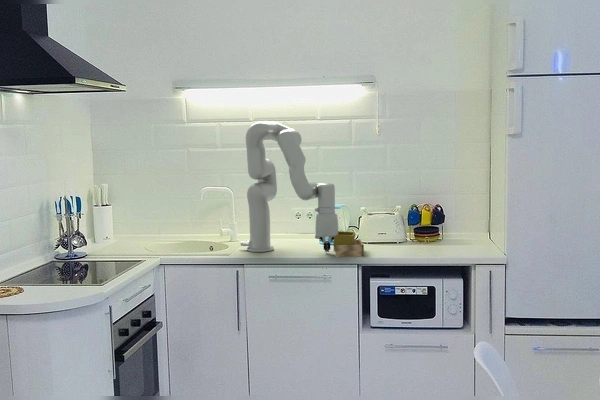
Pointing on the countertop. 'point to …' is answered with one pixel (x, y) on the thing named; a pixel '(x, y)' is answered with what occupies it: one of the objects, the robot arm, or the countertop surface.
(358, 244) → the frame
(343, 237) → the flower pot
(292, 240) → the countertop surface
